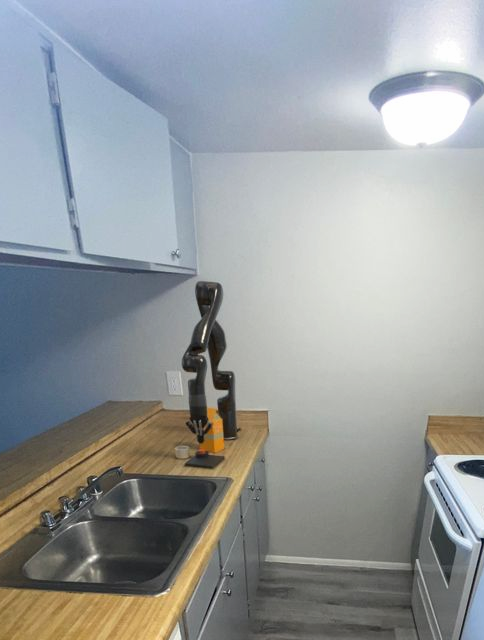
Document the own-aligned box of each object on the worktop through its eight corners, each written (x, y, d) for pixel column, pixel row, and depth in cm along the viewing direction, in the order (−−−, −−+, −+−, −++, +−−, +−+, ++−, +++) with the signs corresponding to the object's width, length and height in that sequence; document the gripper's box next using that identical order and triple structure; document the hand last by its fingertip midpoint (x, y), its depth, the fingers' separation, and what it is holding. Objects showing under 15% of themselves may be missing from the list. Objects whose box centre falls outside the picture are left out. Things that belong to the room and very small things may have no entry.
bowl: (180, 454, 221) (178, 445, 219) (192, 455, 219) (191, 446, 217) (173, 458, 216) (172, 449, 213) (186, 460, 214) (185, 450, 212)
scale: (199, 456, 219) (198, 450, 218) (225, 458, 216) (224, 452, 215) (185, 466, 207) (184, 459, 205) (212, 469, 204) (211, 462, 202)
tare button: (200, 452, 216) (200, 448, 215) (206, 452, 215) (206, 449, 215) (197, 453, 214) (197, 450, 213) (203, 454, 213) (203, 451, 212)
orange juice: (209, 445, 233) (206, 404, 224) (224, 448, 230) (221, 407, 220) (199, 450, 227) (196, 408, 218) (214, 452, 224) (211, 410, 214)
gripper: (215, 403, 206) (218, 442, 214) (187, 401, 209) (191, 439, 217) (208, 406, 199) (211, 446, 207) (179, 404, 202) (183, 444, 210)
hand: (201, 443), depth 212 cm, fingers closed
